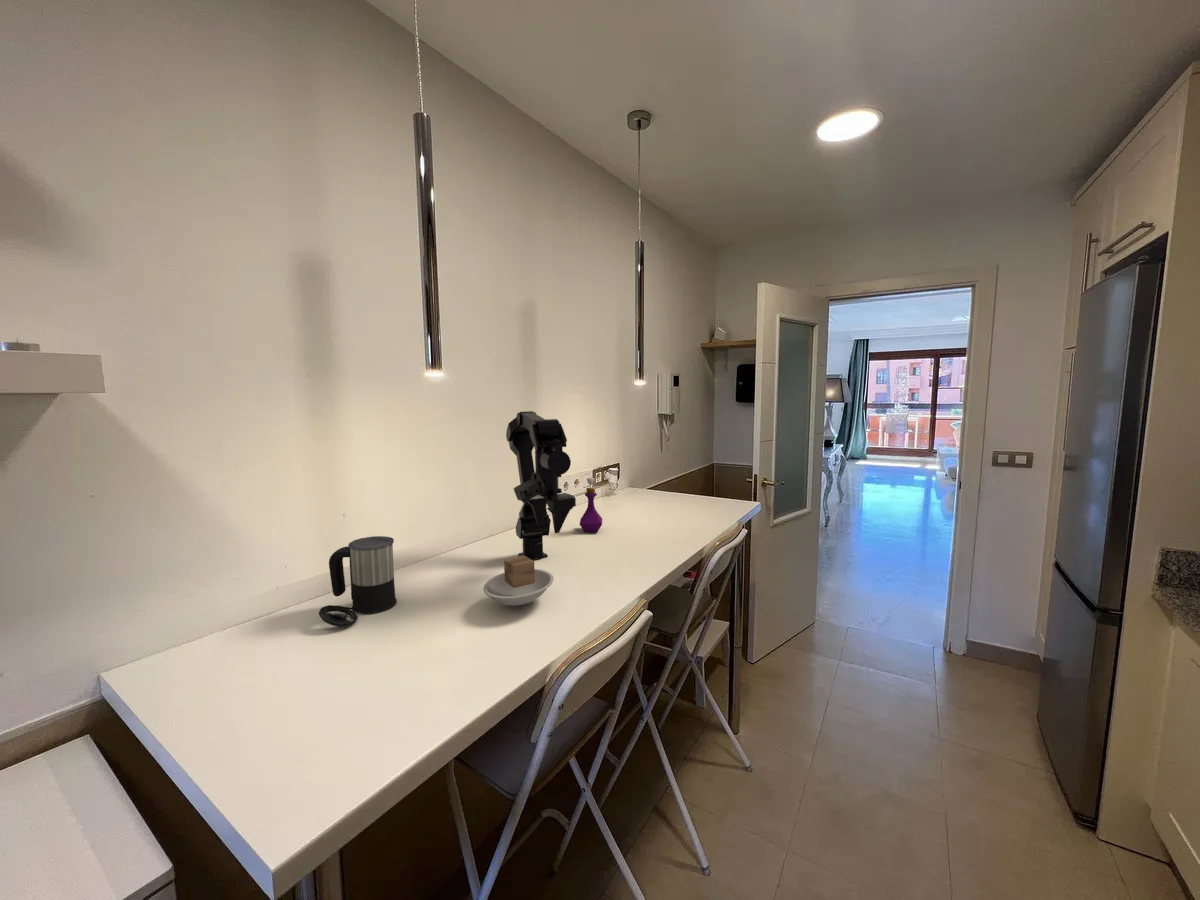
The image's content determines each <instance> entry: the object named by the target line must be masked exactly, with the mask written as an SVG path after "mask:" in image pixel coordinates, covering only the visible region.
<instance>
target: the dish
mask: <svg viewBox="0 0 1200 900" xmlns="http://www.w3.org/2000/svg"><path fill="white" fill-rule="evenodd" d="M534 571H535V583H533V584H529V585H525V586H521V587H517V588H513V587H512V586H511V585H509V584H508V583H507V582H505V575H504V572H502V573H500V574H498V575H495V576H493V577H492V578H489V580H487V581H486V582H485V583H484V585H483V589H482V590H483V593H484V594H485V595H486V596H488V597H490V598H491V599H492V600H493V601H495V602H497V603H499V604H502V605H504V606H509V607H512V606H513V607H516V606H523V605H526V604H530V603H532V602H534V601H536V600H537V599H539V598H540V597H541V596H542V595H543V594H544V593H545V592H546V591H547V589H548V588H550V586H552V584H553V582H554V576H553V574H552V573H551V572H549V571H547V570H543V569H539V568H538V569H537V568H534Z"/></svg>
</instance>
